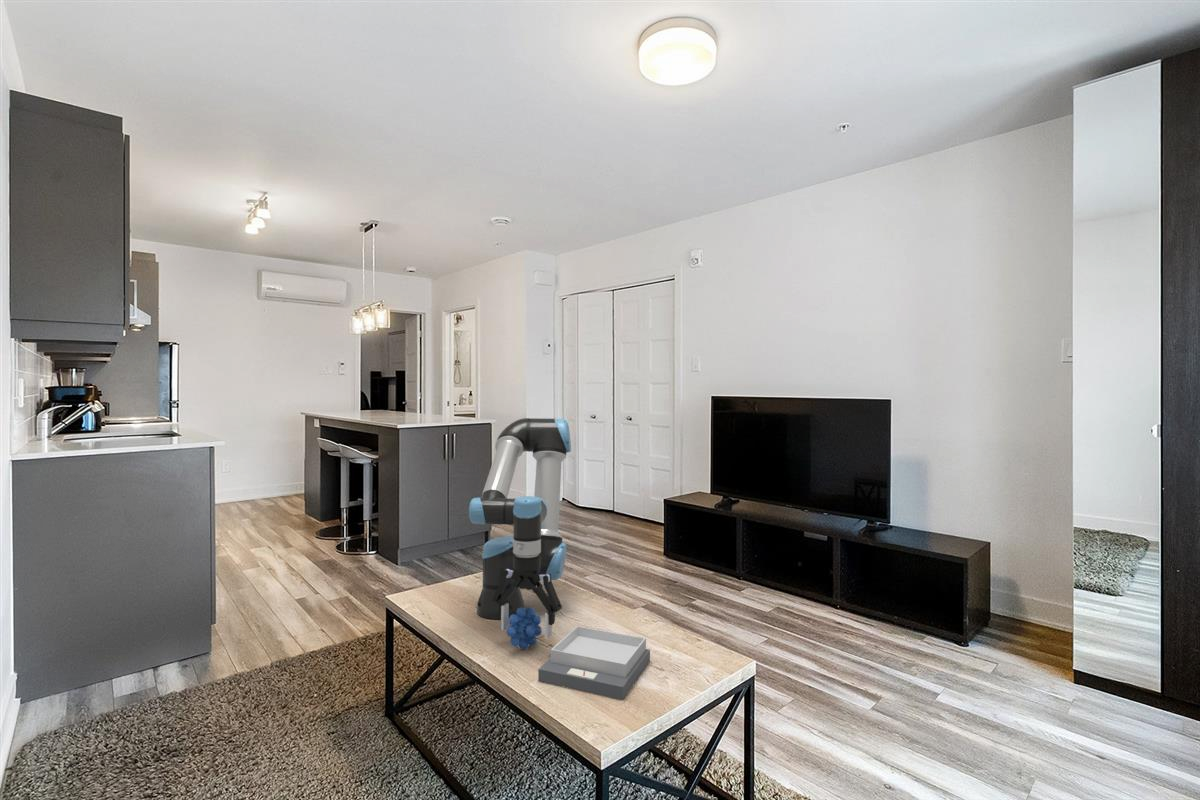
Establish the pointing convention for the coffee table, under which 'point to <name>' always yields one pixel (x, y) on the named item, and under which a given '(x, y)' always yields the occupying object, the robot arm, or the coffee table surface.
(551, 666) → the scale
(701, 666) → the coffee table surface
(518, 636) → the grapes
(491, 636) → the coffee table surface
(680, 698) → the coffee table surface
